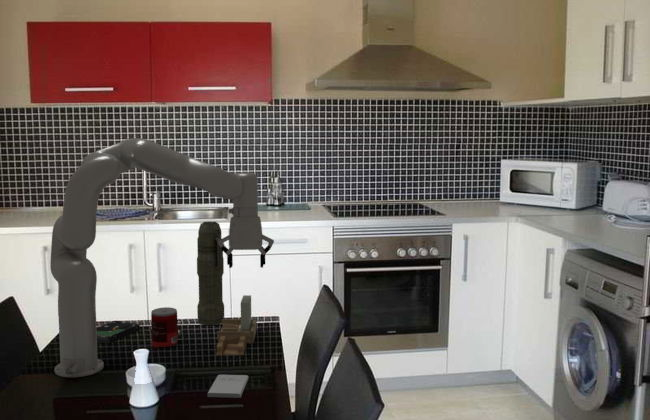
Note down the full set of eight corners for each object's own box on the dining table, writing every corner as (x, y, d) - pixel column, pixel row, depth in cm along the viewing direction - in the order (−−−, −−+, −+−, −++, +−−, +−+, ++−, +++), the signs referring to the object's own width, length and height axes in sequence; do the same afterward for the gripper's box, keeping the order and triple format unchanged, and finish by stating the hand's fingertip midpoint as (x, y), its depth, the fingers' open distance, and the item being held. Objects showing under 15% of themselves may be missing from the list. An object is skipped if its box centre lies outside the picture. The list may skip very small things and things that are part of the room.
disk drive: (115, 328, 216) (83, 340, 203) (115, 320, 216) (82, 331, 202) (140, 332, 212) (109, 345, 199) (140, 324, 212) (109, 336, 198)
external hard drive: (207, 399, 159) (217, 379, 171) (240, 399, 159) (248, 380, 171) (207, 392, 159) (217, 373, 171) (240, 393, 159) (248, 374, 171)
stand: (243, 358, 187) (243, 346, 186) (215, 358, 186) (215, 346, 186) (246, 346, 196) (246, 335, 196) (220, 347, 196) (220, 335, 196)
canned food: (176, 340, 202) (175, 306, 201) (179, 348, 195) (178, 313, 193) (151, 342, 200) (150, 308, 198) (152, 351, 192) (151, 315, 191)
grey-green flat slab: (249, 340, 199) (248, 302, 198) (240, 340, 199) (240, 302, 198) (251, 331, 208) (251, 295, 207) (243, 331, 208) (243, 295, 207)
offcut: (235, 335, 198) (235, 328, 198) (221, 335, 198) (221, 329, 197) (235, 330, 203) (235, 324, 203) (222, 330, 203) (222, 324, 202)
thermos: (214, 330, 212) (212, 225, 208) (189, 324, 219) (187, 222, 215) (233, 324, 219) (232, 222, 215) (208, 318, 226) (207, 219, 222)
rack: (253, 346, 197) (253, 332, 197) (217, 346, 197) (216, 332, 196) (256, 332, 211) (256, 319, 210) (222, 332, 211) (222, 319, 210)
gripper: (215, 214, 195) (217, 269, 197) (273, 214, 196) (273, 269, 198) (219, 211, 203) (220, 264, 205) (274, 210, 203) (274, 264, 205)
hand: (246, 266), depth 201 cm, fingers open, 9 cm apart
